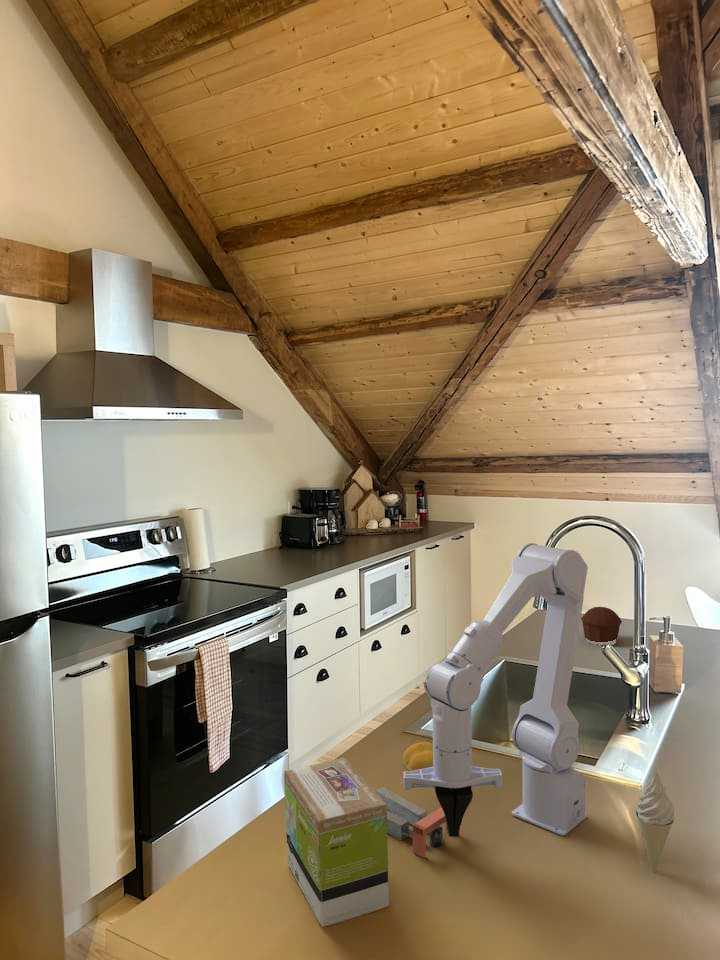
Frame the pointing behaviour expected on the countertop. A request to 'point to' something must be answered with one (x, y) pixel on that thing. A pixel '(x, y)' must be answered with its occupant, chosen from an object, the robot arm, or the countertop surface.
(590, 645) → the countertop surface
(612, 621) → the muffin
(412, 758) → the bread roll
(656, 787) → the ice cream cone
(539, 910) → the countertop surface
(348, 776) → the tea box
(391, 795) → the bar
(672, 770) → the countertop surface
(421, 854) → the pink bridge block
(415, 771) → the robot arm
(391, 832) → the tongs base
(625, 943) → the countertop surface
